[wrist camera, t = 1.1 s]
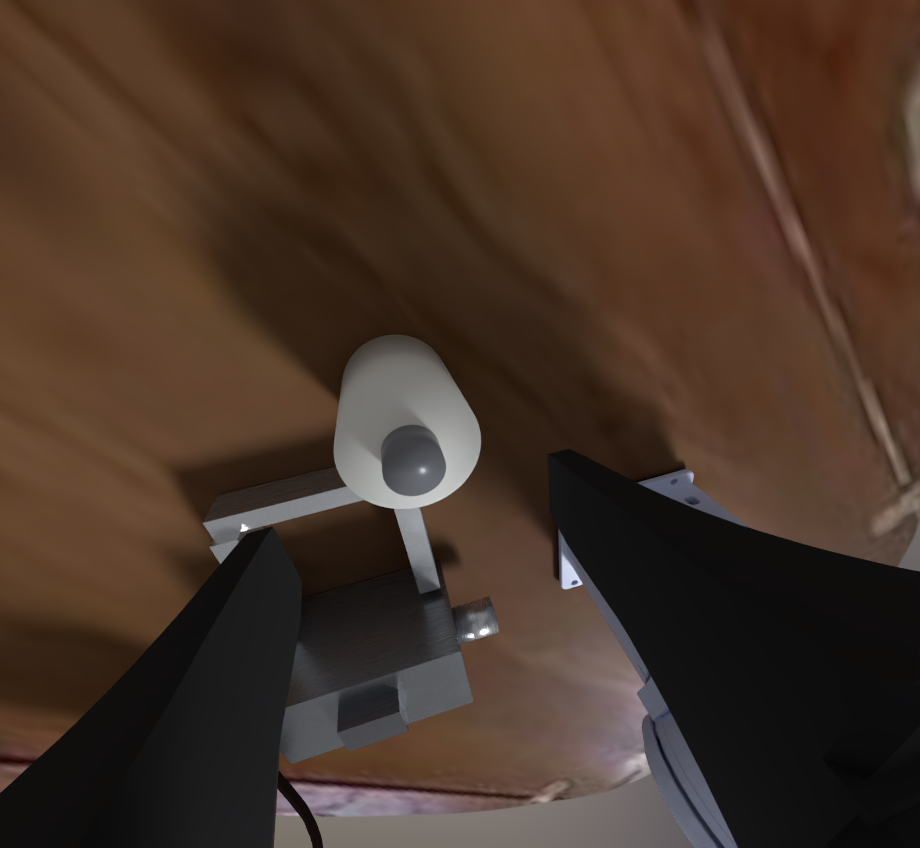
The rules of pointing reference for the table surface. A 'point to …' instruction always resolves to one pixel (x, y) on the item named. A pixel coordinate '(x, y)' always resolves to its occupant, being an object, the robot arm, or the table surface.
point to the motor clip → (361, 628)
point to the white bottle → (403, 425)
